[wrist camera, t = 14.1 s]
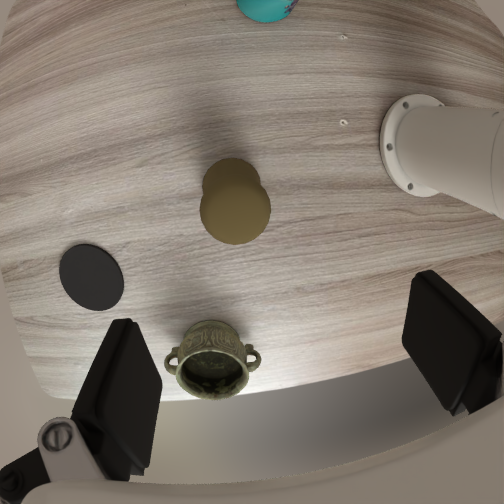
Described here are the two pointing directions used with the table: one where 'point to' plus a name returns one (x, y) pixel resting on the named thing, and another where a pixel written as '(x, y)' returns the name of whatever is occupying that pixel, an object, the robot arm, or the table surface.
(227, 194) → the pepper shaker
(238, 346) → the vessel
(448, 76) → the table surface
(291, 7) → the beverage can
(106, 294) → the coaster
